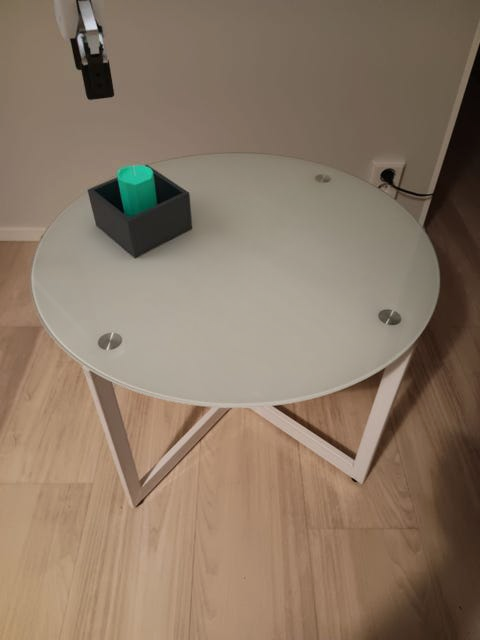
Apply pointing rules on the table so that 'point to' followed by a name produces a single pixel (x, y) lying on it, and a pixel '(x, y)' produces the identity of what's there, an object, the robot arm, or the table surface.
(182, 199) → the bin
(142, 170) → the candle
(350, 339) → the table surface
